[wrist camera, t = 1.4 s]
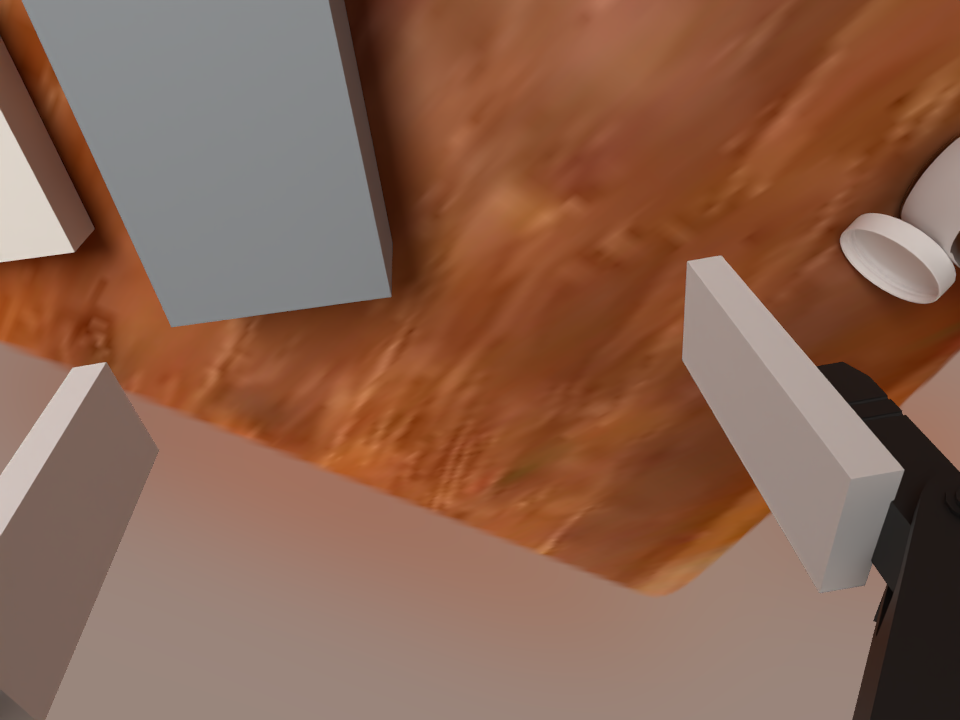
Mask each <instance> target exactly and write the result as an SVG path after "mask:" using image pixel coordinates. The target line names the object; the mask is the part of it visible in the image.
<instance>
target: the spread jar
mask: <svg viewBox="0 0 960 720" xmlns="http://www.w3.org/2000/svg"><path fill="white" fill-rule="evenodd" d="M900 216H901V220H900V219H897V218H894V217H892V216H888V215H884V214H879V213H868V214H863V215H861V216H859V217H858V218H857V219H856V220H855V221H854V222H853V223H852V224H851V225H850V226H849V227H848V228H847V229H846V230H845V231H844V232H843V233H842V234H841V237H840V245H841V248H842V251H843V253H844V254H845V256H846V258H847V259H848V260H849V262H850V263H851V264H852V265H853V266H854V267H855V269H856V270H857V271H858V272H860V273H861V274H862V275H863V276H864V277H865V278H867V279H868V280H869V281H870V282H872V283H873V284H875V285H876V286H878V287H879V288H881V289H882V290H884V291H886V292H888V293H890V294H891V295H894V296H896V297H898V298H900V299H903V300H906V301H909V302H914V303H920V304H927V303H933V302H934V301H936V300H938V299H939V298H940V297H941V296H942V295H943V294H944V293H945V292H946V291H947V290H948V289H949V288H950V287H951V286H952V284H953V283H954V282H955V278H956V272H955V268H954V265H953V263H954V264H955V265H957V266H958V267H959V268H960V134H959V135H958V136H956V137H955V138H953V139H952V140H950V141H949V142H948V143H947V144H945V145H944V146H943V147H942V148H941V149H940V150H939V151H938V152H937V153H935V154H934V155H933V156H932V158H931V159H930V160H929V161H928V162H927V163H926V164H925V165H924V167H923V168H922V169H921V170H920V172H919V173H918V174H917V176H916V177H915V179H914V180H913V182H912V184H911V185H910V187H909V189H908V191H907V193H906V195H905V197H904V200H903V203H902V206H901V210H900Z"/></svg>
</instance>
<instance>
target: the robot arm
mask: <svg viewBox="0 0 960 720" xmlns="http://www.w3.org/2000/svg"><path fill="white" fill-rule="evenodd" d="M682 360H683V362H684V364H685V366H686V367H687V369H688V371H689V372H690V374H691V376H692V377H693V379H694V381H695V383H696V384H697V386H698V388H699V389H700V391H701V393H702V395H703V396H704V398H705V400H706V401H707V403H708V405H709V406H710V408H711V410H712V412H713V413H714V415H715V417H716V418H717V420H718V422H719V423H720V425H721V427H722V429H723V430H724V432H725V434H726V435H727V437H728V439H729V440H730V442H731V444H732V446H733V447H734V449H735V451H736V452H737V454H738V456H739V457H740V459H741V461H742V463H743V464H744V466H745V468H746V469H747V471H748V473H749V474H750V476H751V478H752V480H753V481H754V483H755V485H756V486H757V488H758V490H759V491H760V493H761V495H762V497H763V498H764V500H765V502H766V503H767V505H768V507H769V509H770V510H771V512H772V514H773V515H774V517H775V519H776V520H777V522H778V524H779V526H780V527H781V528H782V531H783V532H784V534H785V536H786V537H787V539H788V541H789V542H790V544H791V546H792V548H793V549H794V551H795V553H796V554H797V556H798V558H799V560H800V561H801V563H802V564H803V566H804V568H805V570H806V571H807V573H808V575H809V577H810V578H811V580H812V581H813V583H814V585H815V587H816V588H817V590H818V592H819V593H824V592H829V591H836V590H841V589H847V588H853V587H859V586H864V585H865V583H866V581H867V578H868V575H869V572H870V569H871V566H872V563H873V564H874V566H875V567H876V569H877V570H878V571H879V573H880V574H881V576H882V577H883V579H884V580H885V581H886V583H887V586H886V589H885V591H884V594H883V597H882V599H881V602H880V605H879V607H878V610H877V612H876V615H875V618H874V621H875V622H876V626H875V630H874V634H873V638H872V643H871V646H870V651H869V655H868V659H867V663H866V667H865V671H864V675H863V679H862V683H861V688H860V691H859V695H858V699H857V704H856V707H855V711H854V716H853V720H960V472H959V471H958V470H957V469H956V468H955V467H954V466H953V464H952V463H950V461H949V460H948V459H947V458H946V457H945V456H944V455H943V454H942V453H941V452H940V451H939V450H938V449H937V448H936V446H935V445H934V444H933V443H932V442H931V441H930V440H929V439H928V438H927V437H926V436H925V435H924V434H923V433H922V432H921V431H920V429H918V427H916V425H915V424H914V423H913V422H912V421H911V420H910V419H909V418H908V417H907V416H906V415H903V414H902V410H901V409H900V408H899V407H898V406H897V405H896V404H895V403H894V402H893V401H892V400H891V399H889V400H888V398H887V395H886V393H885V392H884V391H883V390H882V389H881V388H880V387H879V386H878V385H877V384H876V383H875V382H874V381H873V380H872V379H871V378H870V377H869V376H868V375H866V374H864V373H862V372H860V371H859V370H857V369H855V368H853V367H851V366H850V365H848V364H846V363H844V362H839V363H833V364H827V365H821V366H815V365H814V363H813V362H812V361H811V360H810V359H809V358H808V356H807V355H806V354H805V353H804V352H803V350H802V349H801V348H800V347H799V346H798V345H797V343H796V342H795V341H794V340H793V339H792V338H791V336H790V335H789V334H788V333H787V332H786V331H785V329H784V328H783V327H782V326H781V325H780V324H779V322H778V321H777V320H776V319H775V318H774V317H773V315H772V314H771V313H770V312H769V311H768V310H767V308H766V307H765V306H764V305H763V304H762V303H761V301H760V300H759V299H758V298H757V297H756V296H755V294H754V293H753V292H752V291H751V290H750V289H749V287H748V286H747V285H746V284H745V283H744V281H743V280H742V279H741V278H740V277H739V276H738V274H737V273H736V272H735V271H734V270H733V269H732V267H731V266H730V265H729V264H728V263H727V262H726V260H725V259H724V258H723V257H722V256H715V257H709V258H703V259H698V260H692V261H687V274H686V294H685V313H684V333H683V353H682ZM158 452H159V449H158V448H157V446H156V444H155V443H154V441H153V439H152V438H151V436H150V434H149V433H148V431H147V429H146V428H145V426H144V424H143V423H142V421H141V419H140V418H139V416H138V414H137V413H136V411H135V409H134V408H133V406H132V404H131V403H130V401H129V399H128V398H127V396H126V394H125V393H124V391H123V389H122V388H121V386H120V384H119V383H118V381H117V379H116V377H115V376H114V374H113V372H112V371H111V369H110V367H109V366H108V364H107V362H104V363H98V364H93V365H87V366H81V367H75V368H72V370H71V371H70V373H69V374H68V376H67V377H66V379H65V380H64V382H63V383H62V384H61V386H60V387H59V389H58V390H57V392H56V394H55V395H54V397H53V398H52V399H51V401H50V402H49V404H48V405H47V407H46V408H45V410H44V412H43V413H42V414H41V416H40V417H39V419H38V420H37V422H36V423H35V425H34V426H33V428H32V429H31V431H30V432H29V434H28V435H27V437H26V438H25V440H24V441H23V443H22V444H21V446H20V447H19V449H18V450H17V452H16V453H15V455H14V456H13V458H12V459H11V461H10V462H9V463H8V465H7V466H6V468H5V469H4V471H3V473H2V474H1V475H0V720H45V719H46V717H47V714H48V712H49V710H50V707H51V705H52V702H53V700H54V698H55V695H56V693H57V691H58V688H59V686H60V683H61V681H62V679H63V677H64V674H65V672H66V669H67V667H68V665H69V662H70V660H71V658H72V655H73V653H74V650H75V648H76V646H77V643H78V641H79V639H80V636H81V634H82V632H83V629H84V627H85V624H86V622H87V620H88V617H89V615H90V612H91V610H92V608H93V606H94V603H95V601H96V598H97V596H98V594H99V591H100V589H101V587H102V584H103V582H104V579H105V577H106V575H107V572H108V570H109V568H110V565H111V563H112V560H113V558H114V556H115V553H116V551H117V549H118V546H119V544H120V542H121V539H122V537H123V535H124V532H125V530H126V527H127V525H128V522H129V520H130V518H131V516H132V513H133V511H134V508H135V506H136V504H137V501H138V499H139V497H140V494H141V492H142V490H143V487H144V485H145V482H146V480H147V478H148V475H149V473H150V470H151V468H152V466H153V463H154V461H155V459H156V456H157V454H158Z"/></svg>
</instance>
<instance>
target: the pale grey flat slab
mask: <svg viewBox="0 0 960 720" xmlns="http://www.w3.org/2000/svg"><path fill="white" fill-rule="evenodd" d="M94 229H95V228H94V226H93V224H92V222H91V220H90V218H89V216H88V214H87V212H86V210H85V208H84V206H83V203H82V201H81V199H80V197H79V195H78V193H77V191H76V189H75V187H74V185H73V183H72V181H71V179H70V177H69V175H68V173H67V171H66V169H65V167H64V165H63V163H62V161H61V159H60V156H59V154H58V152H57V150H56V148H55V146H54V144H53V142H52V140H51V138H50V136H49V134H48V132H47V130H46V128H45V126H44V124H43V122H42V120H41V118H40V116H39V114H38V112H37V109H36V107H35V105H34V103H33V101H32V99H31V97H30V95H29V93H28V91H27V89H26V87H25V85H24V83H23V81H22V79H21V77H20V75H19V73H18V71H17V69H16V67H15V65H14V62H13V60H12V58H11V56H10V54H9V52H8V50H7V48H6V46H5V44H4V42H3V40H2V38H1V36H0V262H7V261H14V260H21V259H29V258H36V257H43V256H51V255H58V254H66V253H73V252H75V251H76V250H77V249H78V248H79V247H80V246H81V244H82V243H83V242H84V241H85V240H86V239H87V237H88V236H89V235H90V234H91V233H92V232H93V231H94Z"/></svg>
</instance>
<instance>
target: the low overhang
mask: <svg viewBox="0 0 960 720" xmlns="http://www.w3.org/2000/svg"><path fill="white" fill-rule="evenodd" d="M22 2H23V4H24V6H25V8H26V11H27V13H28V15H29V17H30V19H31V22H32V24H33V26H34V28H35V30H36V33H37V35H38V37H39V39H40V41H41V43H42V46H43V48H44V50H45V52H46V54H47V57H48V59H49V61H50V63H51V65H52V67H53V70H54V72H55V74H56V76H57V78H58V81H59V83H60V85H61V87H62V89H63V91H64V94H65V96H66V98H67V100H68V102H69V105H70V107H71V109H72V111H73V113H74V115H75V118H76V120H77V122H78V124H79V126H80V129H81V131H82V133H83V135H84V137H85V139H86V142H87V144H88V146H89V148H90V150H91V153H92V155H93V157H94V159H95V161H96V163H97V166H98V168H99V170H100V172H101V174H102V177H103V179H104V181H105V183H106V185H107V187H108V190H109V192H110V194H111V196H112V198H113V201H114V203H115V205H116V207H117V209H118V211H119V214H120V216H121V218H122V220H123V222H124V225H125V227H126V229H127V231H128V233H129V235H130V238H131V240H132V242H133V244H134V246H135V249H136V251H137V253H138V255H139V257H140V259H141V262H142V264H143V266H144V268H145V270H146V273H147V275H148V277H149V279H150V281H151V283H152V286H153V288H154V290H155V292H156V294H157V297H158V299H159V301H160V303H161V305H162V307H163V310H164V312H165V314H166V316H167V318H168V321H169V323H170V325H171V327H176V326H183V325H191V324H198V323H205V322H212V321H220V320H227V319H234V318H241V317H249V316H256V315H263V314H270V313H278V312H285V311H292V310H300V309H307V308H314V307H321V306H329V305H336V304H343V303H350V302H358V301H365V300H372V299H379V298H387V297H391V293H392V251H393V243H392V238H391V233H390V228H389V223H388V218H387V213H386V208H385V202H384V197H383V192H382V187H381V182H380V177H379V172H378V167H377V162H376V157H375V152H374V147H373V142H372V137H371V132H370V127H369V122H368V117H367V112H366V107H365V102H364V97H363V92H362V87H361V82H360V77H359V72H358V67H357V62H356V57H355V52H354V47H353V42H352V37H351V32H350V27H349V22H348V17H347V12H346V7H345V2H344V0H22Z"/></svg>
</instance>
